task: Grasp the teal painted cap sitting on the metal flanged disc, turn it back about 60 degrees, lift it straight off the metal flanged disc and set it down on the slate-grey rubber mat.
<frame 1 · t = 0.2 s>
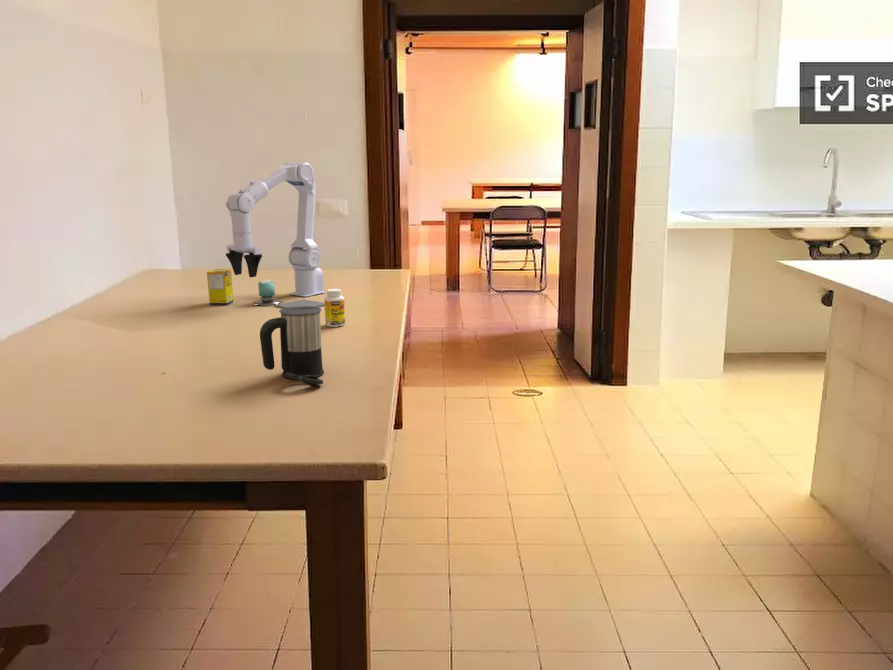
hand: (245, 275, 251), 10 cm above the table, tool pointing down, fingers open, 7 cm apart
supplement bottle: (335, 326, 225), on the table
supplement box: (221, 304, 258), on the table
metal flanged disc: (267, 303, 257), on the table
milk frother: (305, 380, 174), on the table
cap: (267, 294, 257), point 3 cm above the table, touching metal flanged disc
mat: (301, 305, 253), on the table
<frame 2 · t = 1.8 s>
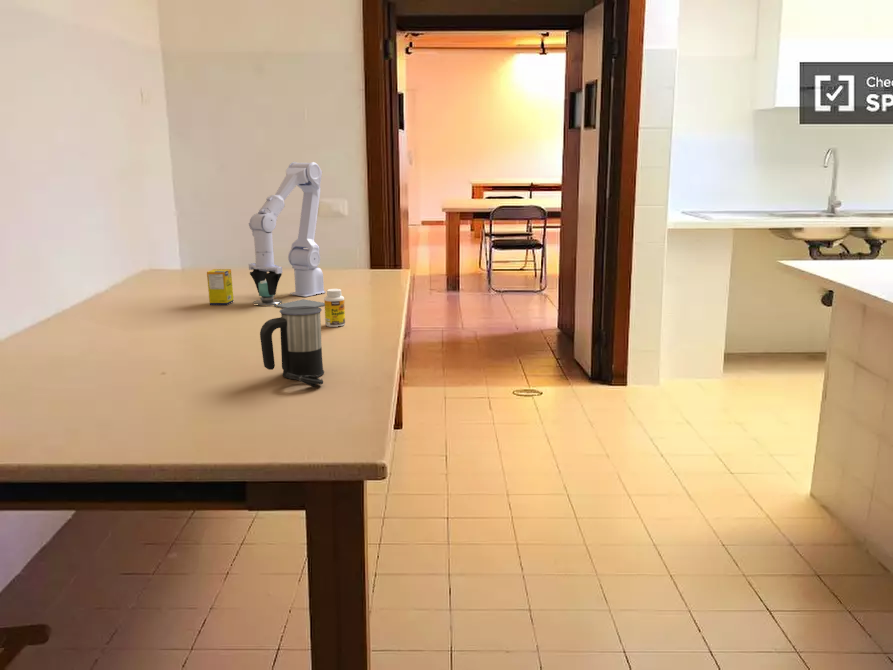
hand: (266, 293, 256), 3 cm above the table, tool pointing down, fingers closed on cap, 5 cm apart
cap: (267, 294, 257), point 3 cm above the table, touching gripper, metal flanged disc
everything else where it was.
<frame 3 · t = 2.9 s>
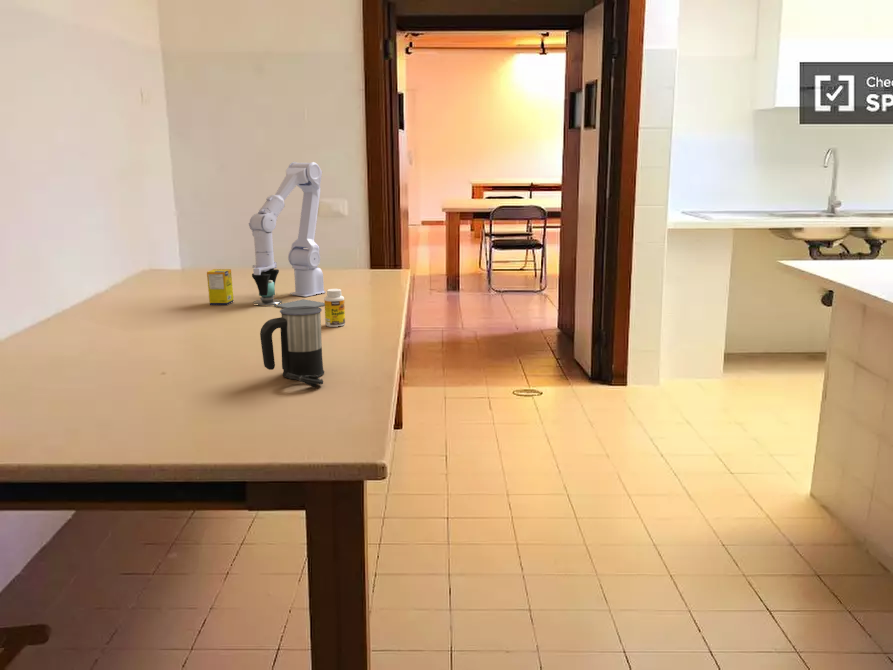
hand: (266, 293, 257), 3 cm above the table, tool pointing down, fingers closed on cap, 5 cm apart
cap: (267, 294, 257), point 3 cm above the table, touching gripper
everything else where it was.
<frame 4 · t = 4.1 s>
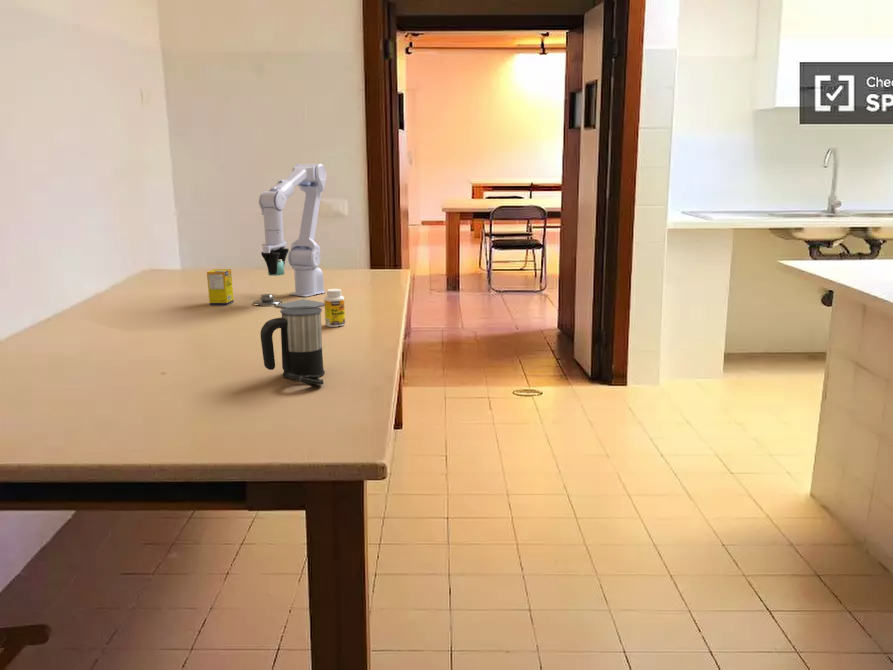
hand: (276, 272, 253), 10 cm above the table, tool pointing down, fingers closed on cap, 5 cm apart
cap: (276, 274, 254), point 10 cm above the table, touching gripper
everything else where it was.
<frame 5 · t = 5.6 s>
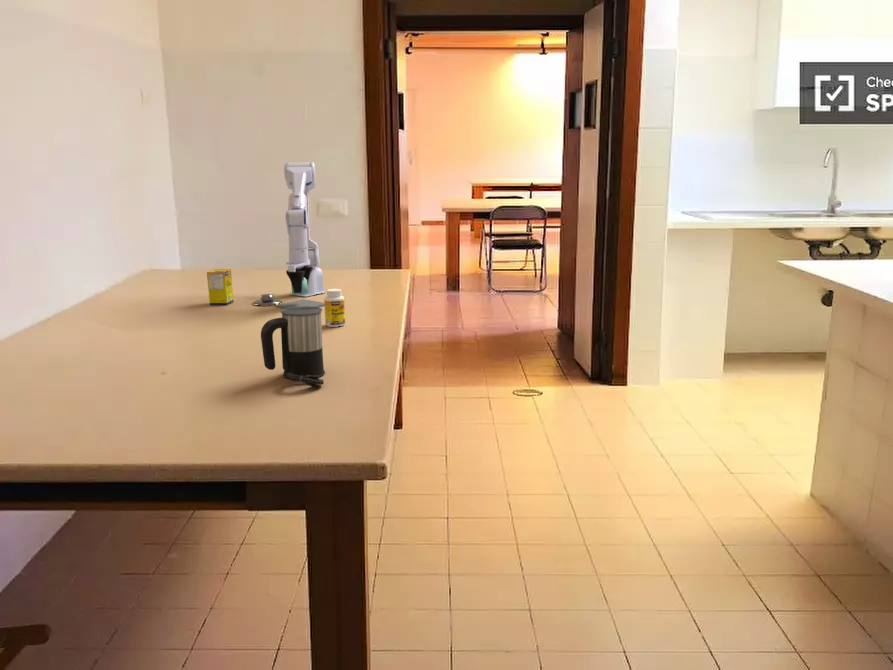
hand: (300, 291, 252), 5 cm above the table, tool pointing down, fingers closed on cap, 5 cm apart
cap: (300, 292, 252), point 4 cm above the table, touching gripper
everything else where it was.
when the fingers open (3 cm above the table, at t = 6.6 s): cap drops 2 cm, resting on mat.
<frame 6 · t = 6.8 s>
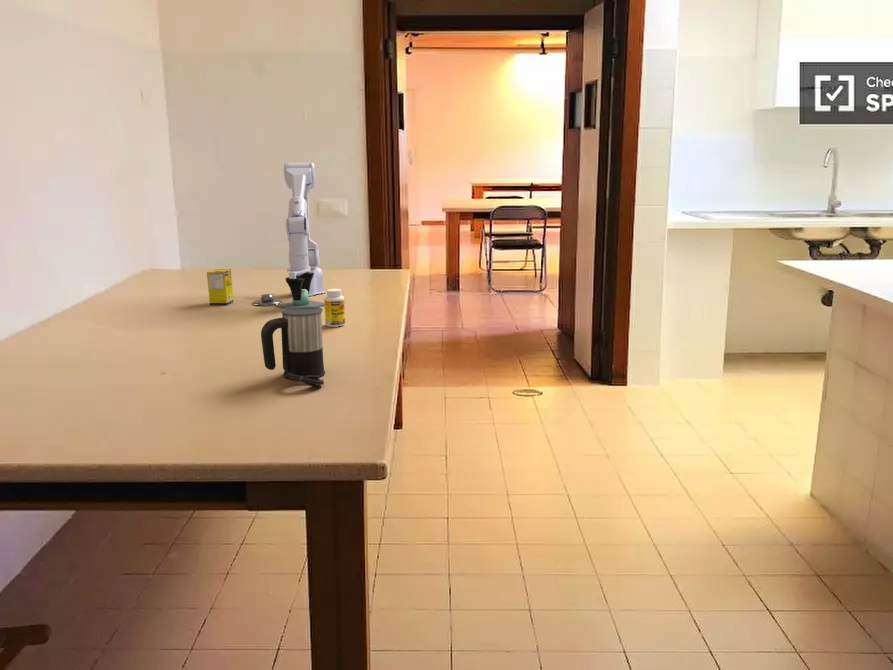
hand: (301, 297, 252), 3 cm above the table, tool pointing down, fingers open, 7 cm apart
cap: (300, 304, 253), point 1 cm above the table, touching mat
everything else where it was.
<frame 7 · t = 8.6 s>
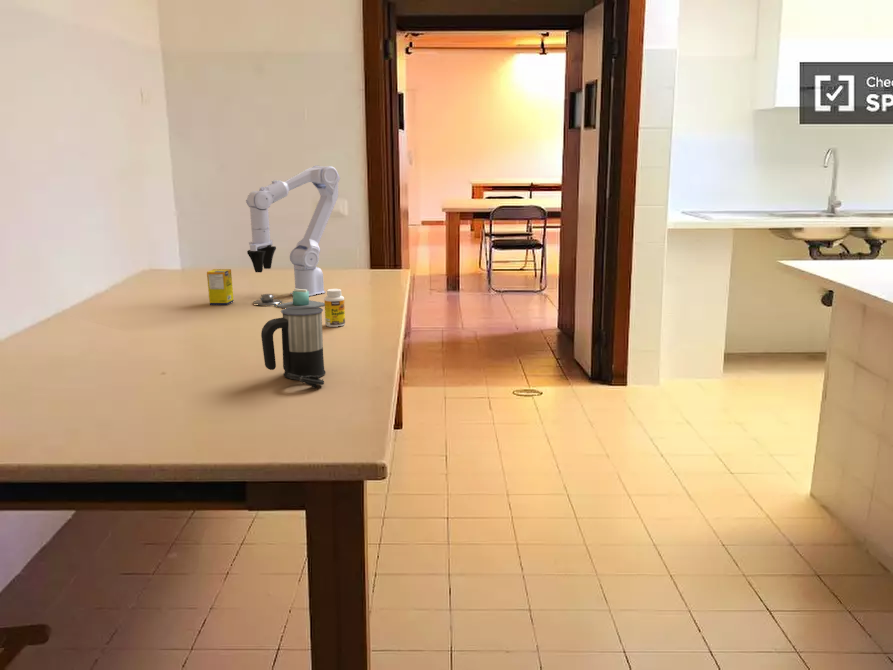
hand: (263, 270, 260), 10 cm above the table, tool pointing down, fingers open, 7 cm apart
nothing on the table moved.
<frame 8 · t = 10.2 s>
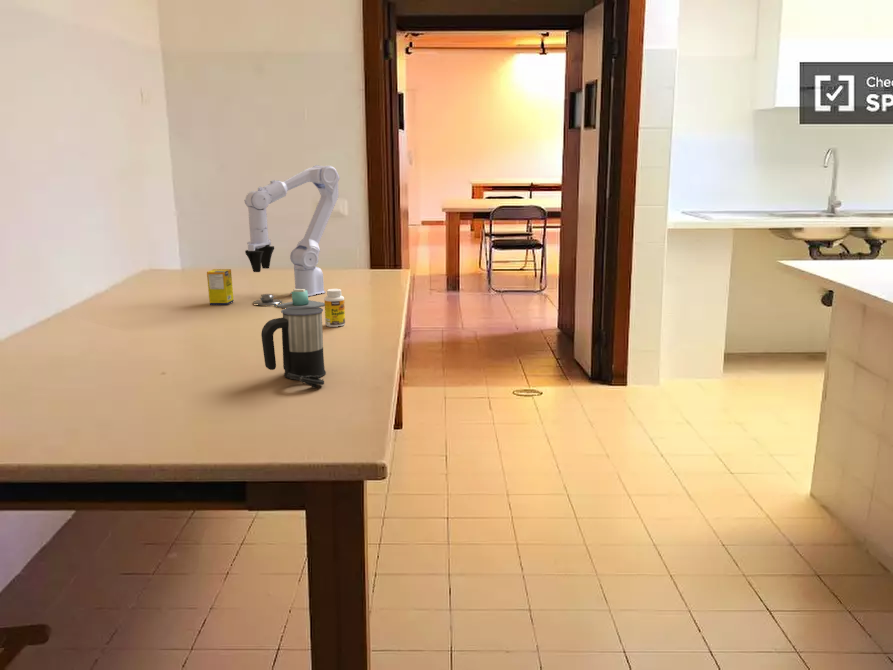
hand: (261, 270, 261), 10 cm above the table, tool pointing down, fingers open, 7 cm apart
nothing on the table moved.
at the end: cap inside the target area on the mat (0.2 cm from its centre), point 0.7 cm above the mat's base; cap tilted 4°; cap touching mat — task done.
